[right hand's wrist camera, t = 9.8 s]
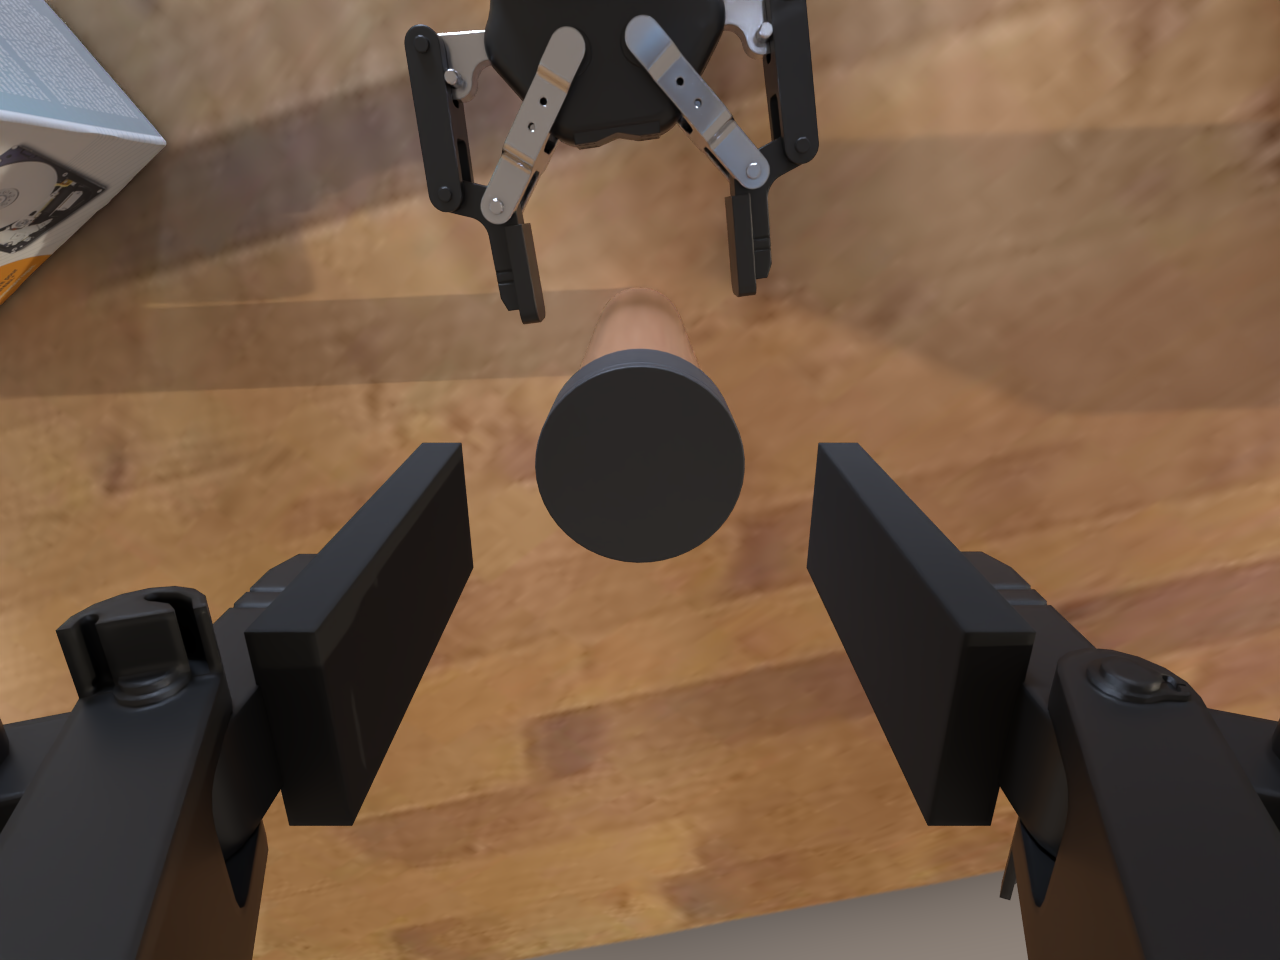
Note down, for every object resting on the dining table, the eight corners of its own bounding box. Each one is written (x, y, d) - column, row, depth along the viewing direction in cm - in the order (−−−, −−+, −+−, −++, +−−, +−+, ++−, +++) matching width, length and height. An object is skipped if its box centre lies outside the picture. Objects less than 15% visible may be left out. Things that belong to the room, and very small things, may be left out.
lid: (620, 557, 19) (618, 597, 17) (508, 421, 18) (491, 447, 16) (768, 460, 18) (784, 491, 16) (662, 307, 17) (665, 321, 15)
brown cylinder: (630, 389, 36) (621, 574, 17) (580, 321, 35) (512, 444, 16) (699, 340, 35) (764, 482, 17) (649, 269, 34) (660, 336, 15)
